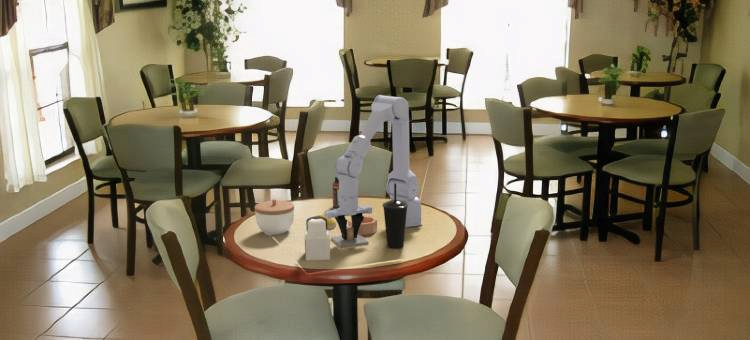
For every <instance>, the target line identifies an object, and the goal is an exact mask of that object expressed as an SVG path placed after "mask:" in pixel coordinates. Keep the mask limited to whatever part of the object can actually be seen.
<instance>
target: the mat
mask: <svg viewBox="0 0 750 340" xmlns="http://www.w3.org/2000/svg"><path fill="white" fill-rule="evenodd" d="M362 237H363V238H364V239H366V238H365V237H364V236H362ZM367 241H368V242H369V244H366V245H359V246H352V247H345V248H340V247H339V246H338V245H337V244H336V243H334V242H333V241H332V240H331V237H330V244H332V245H333V246H334V247H335V248H336V249H337V250H339V251H340V250H347V249H355V248H358V247H359V248H360V247H368V246H373V243H371V242H370V241H369V240H367Z"/></svg>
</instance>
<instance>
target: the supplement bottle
mask: <svg viewBox="0 0 750 340" xmlns="http://www.w3.org/2000/svg"><path fill="white" fill-rule="evenodd" d="M332 206H333V208H335V209H338V208H340V203H339V180H338V178H337V174H336V175H335V176H334V181H333V182H332Z"/></svg>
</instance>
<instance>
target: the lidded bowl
mask: <svg viewBox="0 0 750 340" xmlns="http://www.w3.org/2000/svg"><path fill="white" fill-rule="evenodd" d="M254 216H255V221H256V224H257V226H258V228H259V229H260V231H262V232H263V234H264V235H265V236H269V237H273V236H275V235H276V236H277V235H283V234H285V233H286V232H288V231H289V230H290V229H291V227H292V226H293V223H294V216H295V204H294V202H291V201H288V200H287V201H286V200H277V199H275V198H273V199H272V200H265V201H262V202H259V203H256V204H255V205H254Z"/></svg>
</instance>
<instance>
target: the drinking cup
mask: <svg viewBox="0 0 750 340" xmlns="http://www.w3.org/2000/svg"><path fill="white" fill-rule="evenodd" d="M407 207H408V203H406V202H403V201H401V200H396V183H394V200H392V199H391V200H388V201H385V202H382V208H383V215H384V226H385V235H386V245H387V248H388V249H392V250H394V249H395V250H399V249H402V248H404V245H405V244H404V243H405V234H406V227H405V225H406V214H407Z"/></svg>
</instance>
